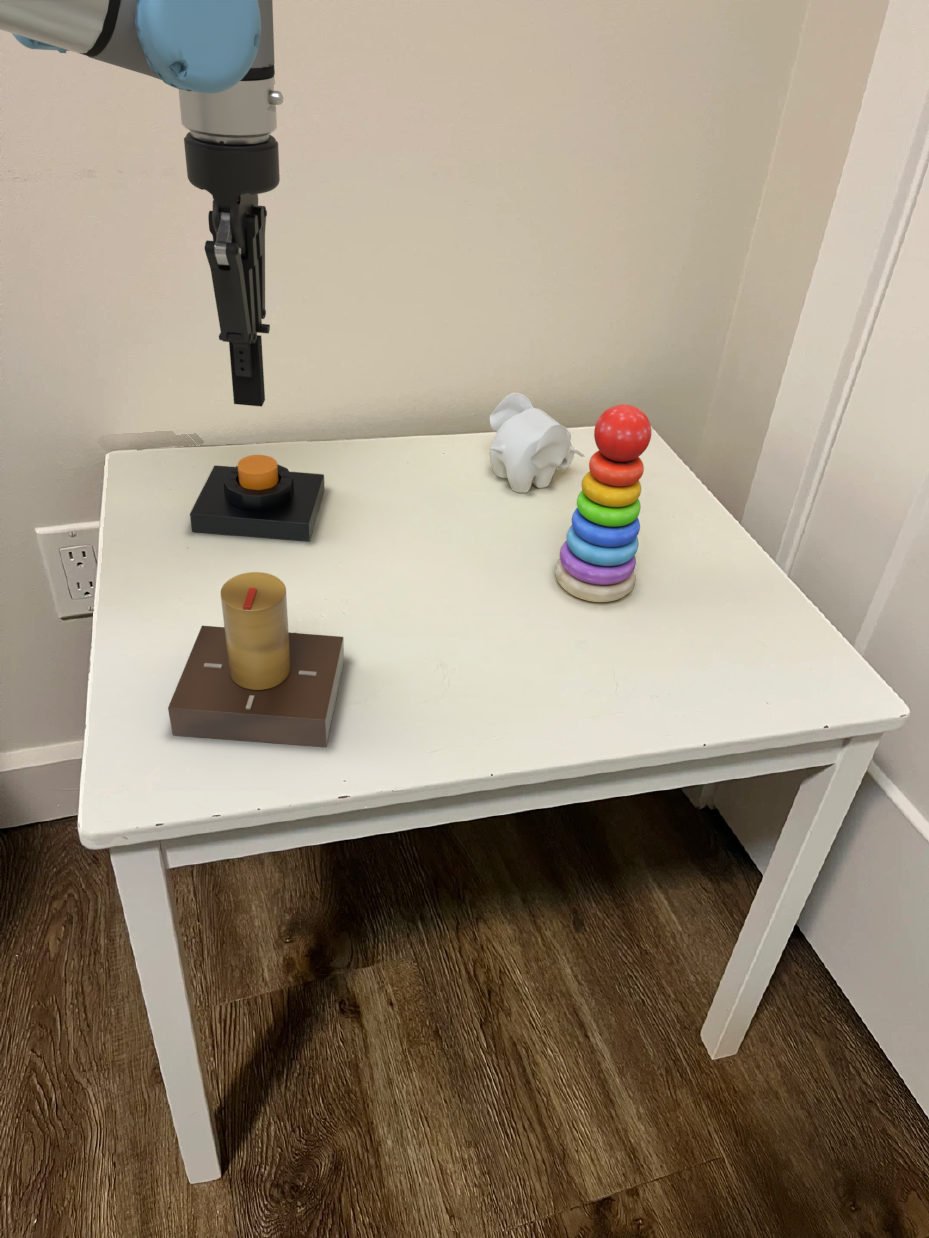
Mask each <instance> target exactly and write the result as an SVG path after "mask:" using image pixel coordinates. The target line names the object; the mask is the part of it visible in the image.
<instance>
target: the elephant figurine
mask: <svg viewBox="0 0 929 1238" xmlns="http://www.w3.org/2000/svg"><path fill="white" fill-rule="evenodd" d="M489 423H490V428H491V430H493V431H494V432H495V435H494V437H493V439H492V442H491V445H490V448H489V462H490V465H491V468H492V471H493V472H494V474H495V475H496V476H497V477H498V478H501V479H507V481H508V483H509V486H510V488H511V490H513V491H514V492H516V493H519V494H520V493H522V494H523V493H524V494H526V493H528V492H529V491H530V489H531V487H532V484H533V485H534V486H535V487H537V488H538V489H542V488H547V487H549V485H550V484H551V482H552V479H553V476H554V474H555V472H556V470H557V469H558V470H559V471H564V470H566V469H568V468H569V467H570V465H571V464H572V462H573V460H574V457H575V454H576V455H578V456H580V457H581V458H583V457H584V458H585V457H586V456H585V454H584V453H582V452H581V451H580V450H578V449H577V448H575V447H574V446H573V445H572V434H571V432H570V431H569V430H568V428H567V427H566V426H565V425H562V424H560V423H559V422H558V421H557V420H556V419H554V418H553V417H551V416H550V414H549V413H548V414H547V412H546V411H544V410H543V409H541V408H538V407H534V405H533V404H532V402H531V400H530V398H528V397H527V396H526V395H524V394H522V393H520V392H515V391H513V392H511V393H509V394H507V395H506V396H505V397H504V398H503V399H502V400H500V402H499V403H498V405H496V407H495V408H494V410H493V411H492V412H491V414H490V415H489Z"/></svg>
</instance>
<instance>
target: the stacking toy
mask: <svg viewBox="0 0 929 1238" xmlns="http://www.w3.org/2000/svg"><path fill="white" fill-rule="evenodd" d="M593 435H594V437H593V438H594V442H595V446H596V447H597V449H598V450H597V451H596V452H594V453H593V454H592V455H591V457H590V458H589V460H588V461H589V462H588V469H589V471H587V473H586V474H585V475H584V476H583V478H582V480H581V490H580V491H579V493H578V495H577V498H576V508H575V509H574V511H573V513H572V515H571V525H570V526H569V528H568V530H567V533H566V539H565V541H564V542H563V543H562V546H560V550H559V559H558V560H557V562H556V565H555V577H556V580H557V582H558V583H559V585H560V586H561V588H562V589H564V591H566V592H567V593H569V594H570V595H571V596H574V597H576V598H578V599H581V600H583V601H587V602H594V603H608V602H615V601H617V600H620V599H622V598H624V597H626V596H627V595H628V594H629V593H630V592H631V591H632V590H633V589H634V586H635V585H636V584H635V583H636V572H635V568H636V566H637V557H636V554H637V552H638V551H639V545H640V544H639V537H638V535H639V533H640V531H641V524H640V523H641V522H640V519H639V516H640V515H639V514H640V513H641V502H640V501H641V500H640V499H639V498H640V496H641V494H642V485H641V482H640V479H641V478H642V476H643V474H644V470H645V466H644V462H643V461H642V459H641V458H640V456H642V455H643V454H644V453H645V451H647V448H648V447H649V445H650V442H651V439H652V425H651V422H650V419H649V418H648V416H647V415H646V413H644V412H643V410H642V409H640V408H638V407H636V406H634V405H631V404H616V405H614V406H611V407H609V408H607V409H606V410H605V411H603V412H602V413H601V415H600V416H599V417H598V419H597V421H596V422H595V426H594V431H593Z"/></svg>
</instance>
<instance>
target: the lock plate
mask: <svg viewBox="0 0 929 1238" xmlns="http://www.w3.org/2000/svg"><path fill="white" fill-rule="evenodd" d="M344 644H345V641H344V636H338V635H327V634H313V633H303V632H302V633H301V632H289V647H290V664H291V670H290V673H289V675H288V677H287V678H286V679H285V680H284V681H283V682H282V683H281V684H279V685H277V686H275V687H272V688H269V689H264V690H251V689H246V688H243V687H241V686H239V685H238V684H236V683H235V682H234V681H233V680H232V678H231V676H230V671H229V662H228V654H227V645H226V636H225V628H224V626H212V625H201V627H200V629H199V632H198V634H197V637H196V639H195V641H194V644H193V646H192V648H191V651H190V653H189V656H188V658H187V661H186V663H185V666H184V668H183V670H182V672H181V675H180V678H179V680H178V683H177V685H176V687H175V690H174V692H173V694H172V697H171V700H170V702H169V704H168V706H167V710H168V715H169V722H170V727H171V731H172V736H178V737H190V738H202V739H203V738H204V739H216V740H217V739H218V740H228V741H229V740H230V741H243V742H256V743H268V744H281V745H291V746H292V745H293V746H306V747H309V746H310V747H319V748H327V745H328V740H329V735H330V730H331V725H332V722H333V721H332V720H333V716H334V711H335V707H336V702H337V697H338V693H339V687H340V682H341V678H342V673H343V669H344V664H345V655H344V654H345V653H344V651H345V648H344V646H345V645H344Z"/></svg>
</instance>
